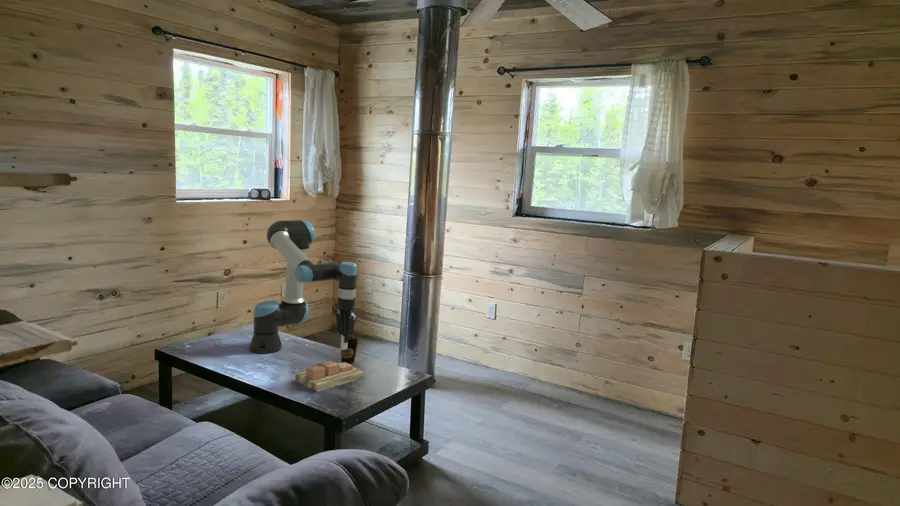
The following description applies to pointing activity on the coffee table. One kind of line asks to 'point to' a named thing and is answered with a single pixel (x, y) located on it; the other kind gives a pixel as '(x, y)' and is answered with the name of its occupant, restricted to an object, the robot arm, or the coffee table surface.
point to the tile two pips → (330, 368)
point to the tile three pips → (345, 367)
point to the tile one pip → (315, 372)
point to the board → (329, 379)
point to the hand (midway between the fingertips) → (343, 348)
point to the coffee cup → (350, 350)
